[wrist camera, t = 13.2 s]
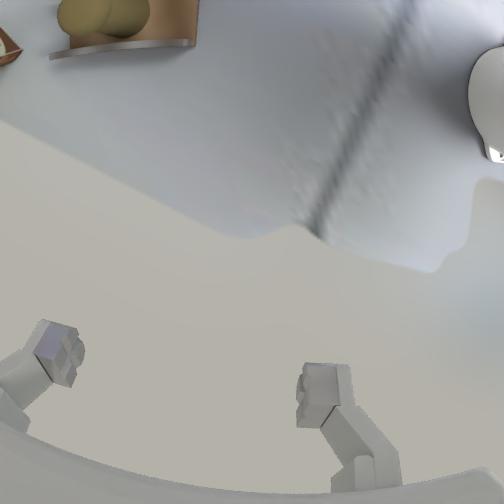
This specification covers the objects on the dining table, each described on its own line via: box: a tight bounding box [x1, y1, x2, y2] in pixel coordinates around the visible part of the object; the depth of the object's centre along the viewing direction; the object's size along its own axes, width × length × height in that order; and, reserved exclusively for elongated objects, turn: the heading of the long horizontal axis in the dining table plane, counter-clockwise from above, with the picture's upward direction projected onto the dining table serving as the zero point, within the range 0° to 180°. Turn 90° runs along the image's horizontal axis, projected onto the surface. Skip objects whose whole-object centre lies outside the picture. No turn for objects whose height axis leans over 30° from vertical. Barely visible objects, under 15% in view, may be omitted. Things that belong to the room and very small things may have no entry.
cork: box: [57, 0, 150, 38], centre depth 22 cm, size 6×6×11 cm
